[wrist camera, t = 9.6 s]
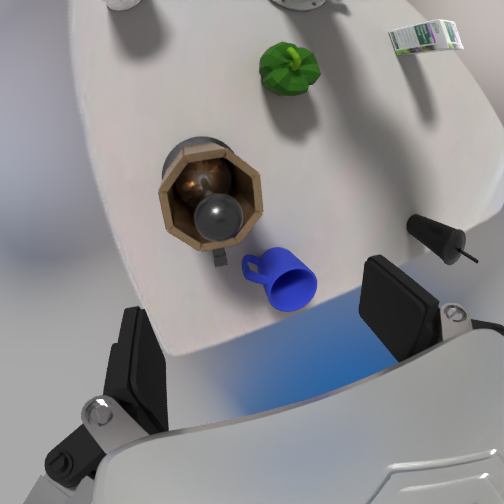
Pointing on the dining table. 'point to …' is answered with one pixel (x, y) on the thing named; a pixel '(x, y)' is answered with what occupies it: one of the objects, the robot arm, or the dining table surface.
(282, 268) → the mug
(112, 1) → the white cup
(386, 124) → the dining table surface
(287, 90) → the bell pepper
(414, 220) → the drinking cup
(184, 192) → the plunger
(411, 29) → the syrup box
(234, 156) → the tan octagonal hollow container
